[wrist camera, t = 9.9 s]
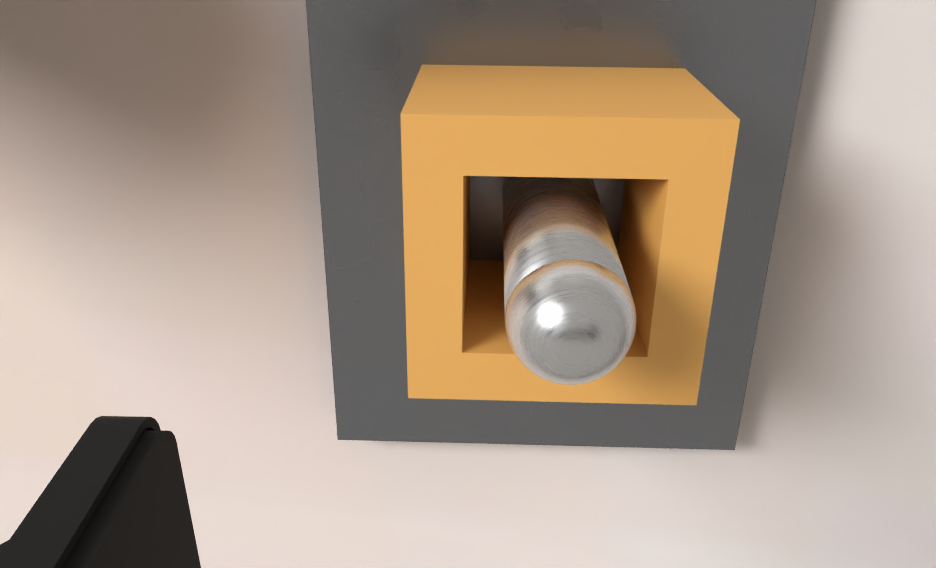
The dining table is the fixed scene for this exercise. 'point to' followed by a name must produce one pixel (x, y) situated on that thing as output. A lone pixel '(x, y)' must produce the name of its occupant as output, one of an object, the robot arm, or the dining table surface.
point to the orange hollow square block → (565, 156)
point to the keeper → (541, 209)
